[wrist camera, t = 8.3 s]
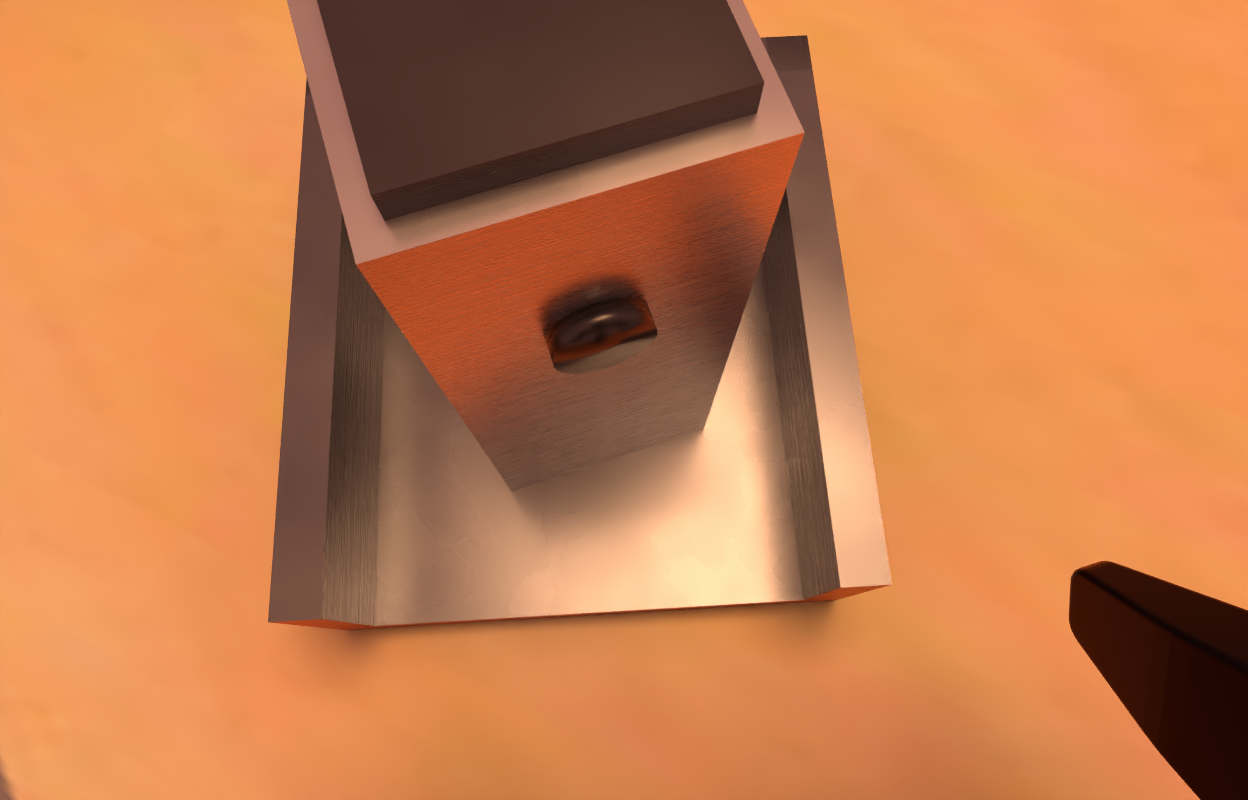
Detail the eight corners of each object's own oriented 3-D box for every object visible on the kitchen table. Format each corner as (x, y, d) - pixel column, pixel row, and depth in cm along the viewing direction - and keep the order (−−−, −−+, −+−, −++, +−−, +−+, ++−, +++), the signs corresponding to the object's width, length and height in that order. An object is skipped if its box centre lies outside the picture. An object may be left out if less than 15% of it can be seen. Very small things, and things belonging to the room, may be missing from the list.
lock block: (709, 443, 20) (829, 133, 8) (516, 506, 20) (347, 276, 8) (639, 257, 22) (654, -229, 10) (458, 312, 21) (245, -128, 9)
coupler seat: (834, 600, 20) (892, 584, 16) (345, 630, 20) (268, 621, 16) (774, 146, 24) (806, 35, 20) (365, 168, 24) (307, 60, 19)
